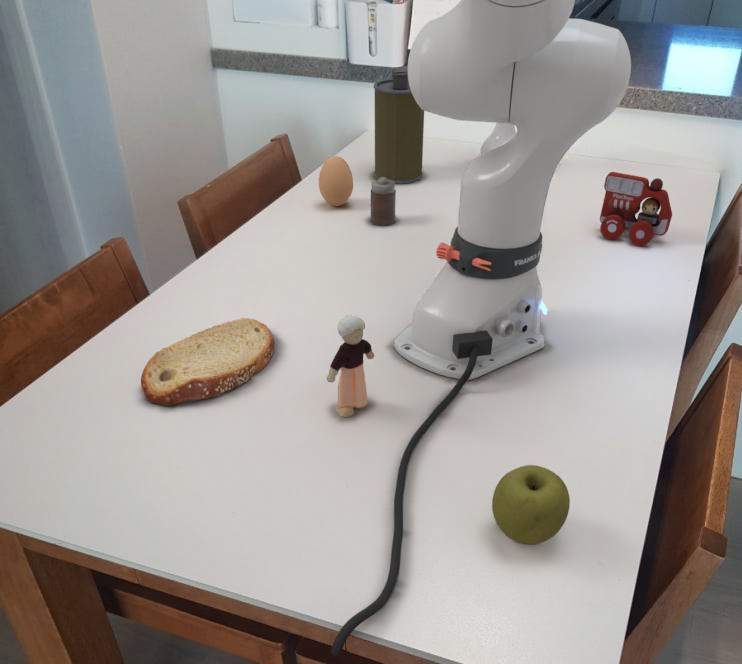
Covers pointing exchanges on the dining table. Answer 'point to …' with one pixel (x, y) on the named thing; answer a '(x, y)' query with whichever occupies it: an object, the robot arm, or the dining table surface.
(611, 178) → the toy fire truck
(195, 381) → the slice of bread
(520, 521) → the apple
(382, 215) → the pepper shaker
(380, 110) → the canister
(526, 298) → the robot arm
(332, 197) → the egg
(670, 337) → the dining table surface
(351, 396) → the grandmother figurine
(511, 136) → the flower vase
